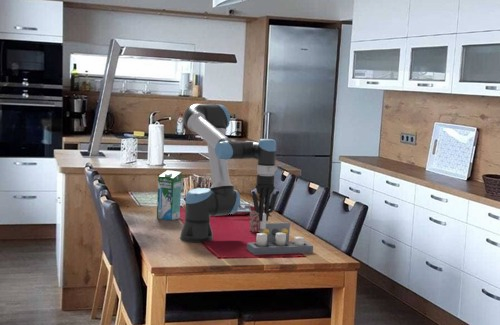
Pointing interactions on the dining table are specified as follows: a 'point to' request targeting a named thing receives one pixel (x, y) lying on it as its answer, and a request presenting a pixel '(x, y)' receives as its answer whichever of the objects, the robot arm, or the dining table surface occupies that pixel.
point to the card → (276, 230)
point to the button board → (279, 248)
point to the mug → (254, 219)
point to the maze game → (243, 209)
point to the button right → (298, 241)
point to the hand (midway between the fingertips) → (262, 228)
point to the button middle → (280, 239)
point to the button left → (261, 240)
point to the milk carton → (169, 195)
